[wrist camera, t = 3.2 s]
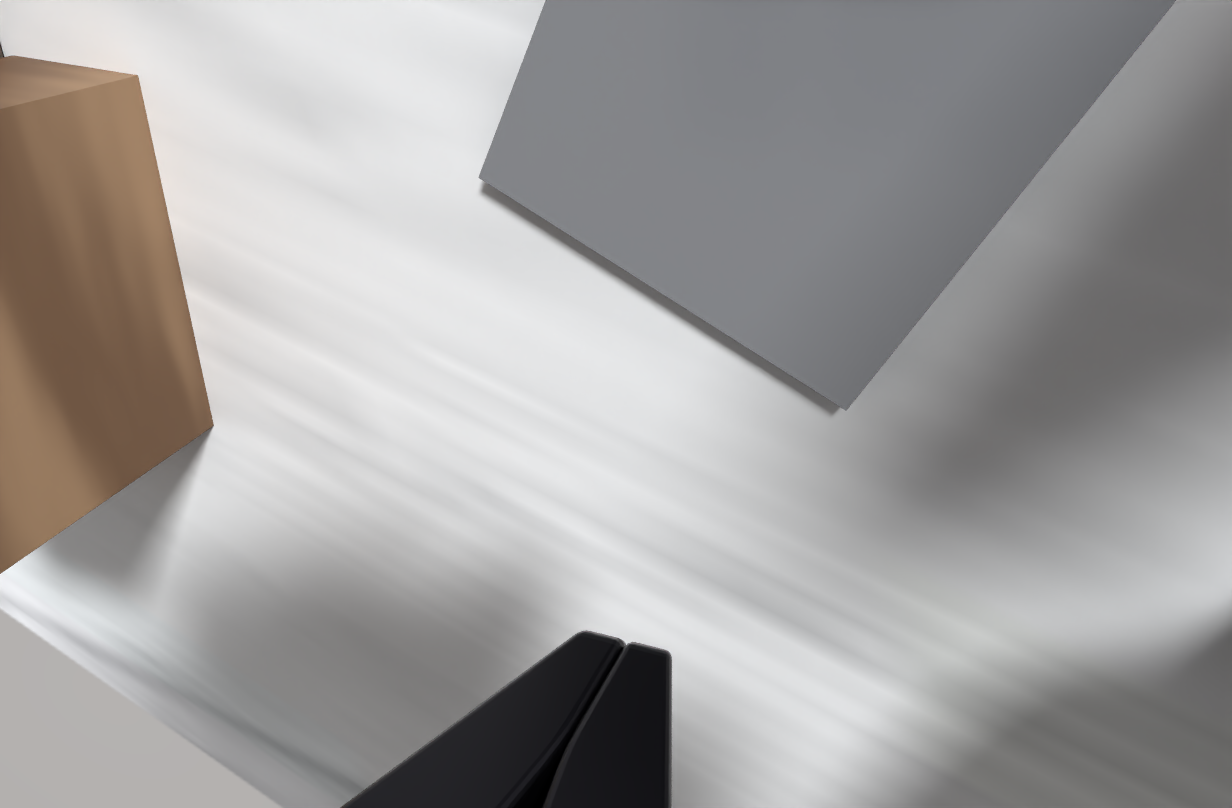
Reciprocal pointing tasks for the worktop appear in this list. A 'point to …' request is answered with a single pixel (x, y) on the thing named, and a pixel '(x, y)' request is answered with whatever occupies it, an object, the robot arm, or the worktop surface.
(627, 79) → the slate coaster
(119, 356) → the light brown wooden block
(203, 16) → the worktop surface
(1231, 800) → the worktop surface
